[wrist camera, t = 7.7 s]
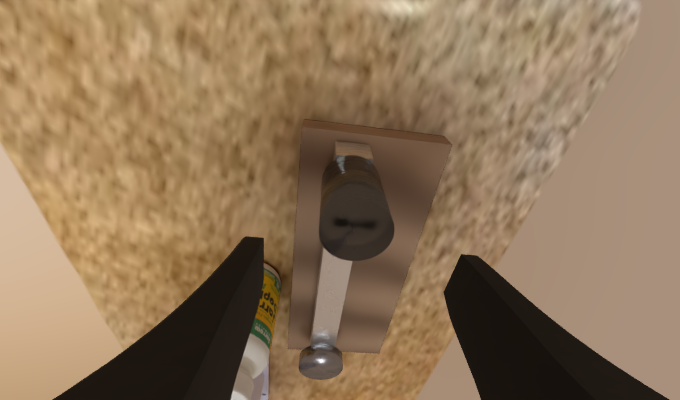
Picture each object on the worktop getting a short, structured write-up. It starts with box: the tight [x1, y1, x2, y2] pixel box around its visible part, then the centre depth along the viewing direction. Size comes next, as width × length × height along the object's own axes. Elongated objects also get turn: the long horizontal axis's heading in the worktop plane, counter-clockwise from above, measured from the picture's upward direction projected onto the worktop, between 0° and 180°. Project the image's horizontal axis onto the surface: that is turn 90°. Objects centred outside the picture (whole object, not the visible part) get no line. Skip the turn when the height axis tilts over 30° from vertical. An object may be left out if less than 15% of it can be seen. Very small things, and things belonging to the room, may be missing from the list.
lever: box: [299, 141, 395, 380], centre depth 20 cm, size 20×4×6 cm, turn 173°
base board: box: [288, 119, 452, 353], centre depth 24 cm, size 22×9×2 cm, turn 173°
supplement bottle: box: [231, 263, 281, 400], centre depth 21 cm, size 5×5×10 cm
